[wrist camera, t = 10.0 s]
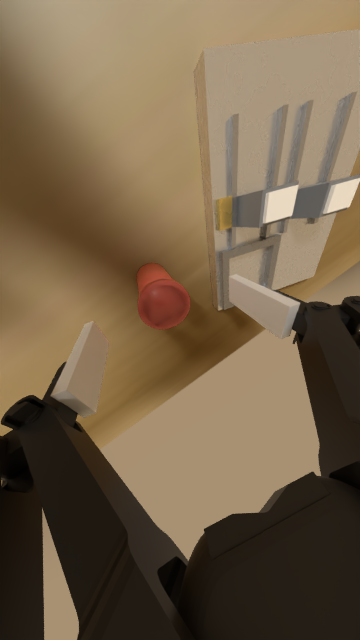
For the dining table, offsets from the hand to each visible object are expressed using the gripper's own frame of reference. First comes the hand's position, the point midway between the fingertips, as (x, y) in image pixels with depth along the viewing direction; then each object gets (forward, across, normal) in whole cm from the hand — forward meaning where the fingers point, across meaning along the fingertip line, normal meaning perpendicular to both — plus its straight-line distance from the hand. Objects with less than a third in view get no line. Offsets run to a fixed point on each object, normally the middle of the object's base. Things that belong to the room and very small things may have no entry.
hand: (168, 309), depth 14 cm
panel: (+9, -19, -4) cm, 21 cm away
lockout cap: (+9, 0, 0) cm, 9 cm away
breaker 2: (+7, -22, -5) cm, 23 cm away
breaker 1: (+7, -14, -6) cm, 16 cm away
